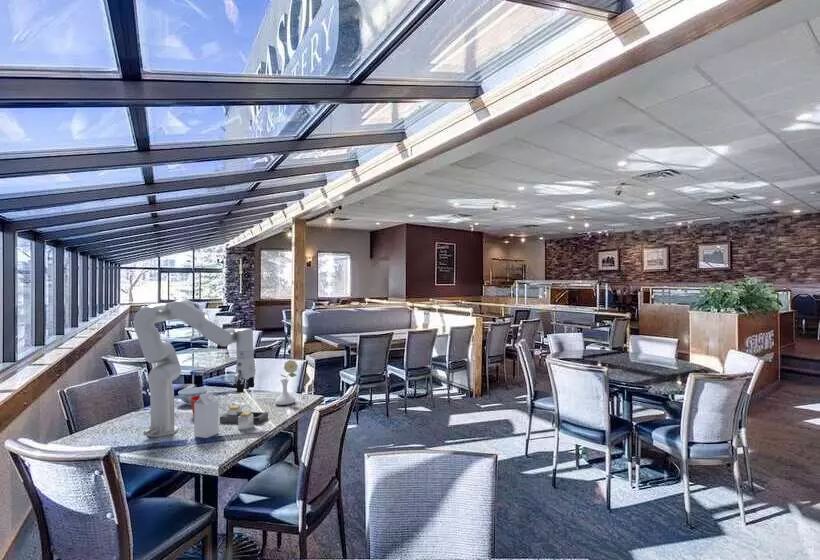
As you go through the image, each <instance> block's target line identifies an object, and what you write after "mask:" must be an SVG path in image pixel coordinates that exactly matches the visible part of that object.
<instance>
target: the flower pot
mask: <svg viewBox="0 0 820 560" xmlns="http://www.w3.org/2000/svg"><path fill="white" fill-rule="evenodd" d="M199 398H200V395H198V396H194V397H192V398H190V402H191V405H190V406H191V412H192V415H193V417H194V403H195V402H196V401H197V400H198V399H199Z"/></svg>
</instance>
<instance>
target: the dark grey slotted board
mask: <svg viewBox="0 0 820 560" xmlns="http://www.w3.org/2000/svg"><path fill="white" fill-rule="evenodd" d="M243 412H244V411H242V413H243ZM250 412H251V414H253V425H261V424H262V423H263V422H265V421H266V420H268V419H269V412H264V411H261V412H259V411H250ZM239 416H240V415H239ZM239 416H227V412H226V413H224V414H222V415H221V416H219V423H220V424H238V417H239Z"/></svg>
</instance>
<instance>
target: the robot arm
mask: <svg viewBox="0 0 820 560" xmlns="http://www.w3.org/2000/svg"><path fill="white" fill-rule="evenodd" d="M176 319H177V320H179V321H181V323H182V322H183V323H184V324H186V325H188V326H190V327H192V328H193V329H195V330H196V331H197V332H198V333H199V334H200V335H202V336H203V338H205V339H207V340H208V341H210V342H213V343H214V344H215V345H217V346H220V347H226V346H230V345H232V344H236V346H235V347H236V348H235V349H236V363H235V364H236V365H235V366H236V367H235V375H234V382H235V385H236V393H239V394H242V393H244V392H245V391H244V389H245V388H244V387H245V386H244V382H245V380H247V388H252V389H253V388H255V378H256V377H255V375H256V369H257V368H256V362H255V357H254V330H253V329H252V328H247V327H246V328H244V327H243V328H233V327H229V328H222V327H220V326H219V325H217V324H215V322H213V321H212V320H211V318H210V317H209V315H208V313H206V312H205V311H202V310H201V309H199V308H197V307H196V306H195V303H194V302H193V301H191V300H190V299H176V300H174V301H171V302H165V303H161V304H159V303H158V304H150V305H145V306H144V307H141V309H139V310H138V311H137V312H136V313H135V315H134V317H133V321H132V322H133V328H134V331H135V334H136V336H137V339H138V343H139V345H140V349H141V351H142V355H143V357H144V360H145V361H146V362H147V363H149V364H157V366H154V367H153V368H152V369H150V371H149V373H148V378H147V379H148V380H147V381H148V382H147V383H148V386H149V387H148V388H149V395H150V397H149V398H150V399H149V400H150V403H149V404H150V425H149V426H148V427H149V428H148V429H146V430H144V431H143V433H142V434H143V435H144V436H147V437H150V438H159V437H166V436H170V435H172V434H175V433H177V432H178V431H179V427H178V426H176V425H175V391H174V390H175V389H174V386H173V381H175V380H177V379H178V378H179V377H180V376H181V374H182V373H181V372H182V369H181V367H182V366H181V364H180V361H179V358H178V355H177V352H176V349H175V347H174V346H173V345H172V343H171V342H169V341H167V340H162V338H161V335H160V333H159V330H158V329H157V327H156V326H155V324H156V323H161V322H166V321H171V320H176Z"/></svg>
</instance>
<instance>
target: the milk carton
mask: <svg viewBox="0 0 820 560" xmlns="http://www.w3.org/2000/svg"><path fill="white" fill-rule="evenodd" d="M193 419H194V437H197V438H203V439H208V438H210V437H212V436H216V435H217V434H219V433H220V432H219V431H220V430H219V429H220V428H219V426H220V425H219V400H218V399H217V398H216V396H215V395H214V393H213V391H210V392H206V394H203V395H200V398H199V399H198V400H197V401H196V402H195V403H194V416H193Z"/></svg>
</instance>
